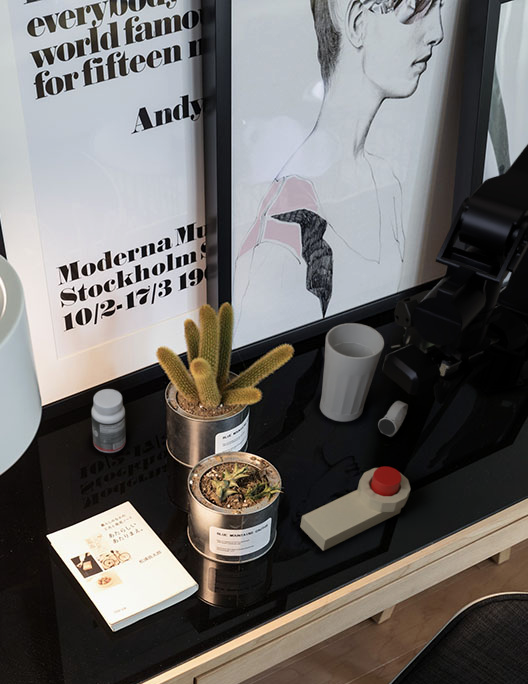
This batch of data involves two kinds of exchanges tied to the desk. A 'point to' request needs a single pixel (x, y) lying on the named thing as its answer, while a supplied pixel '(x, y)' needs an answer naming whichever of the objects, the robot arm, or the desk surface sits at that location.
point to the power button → (386, 481)
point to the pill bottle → (108, 421)
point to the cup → (349, 369)
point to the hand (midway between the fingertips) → (440, 401)
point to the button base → (353, 512)
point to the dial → (414, 339)
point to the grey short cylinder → (396, 414)
